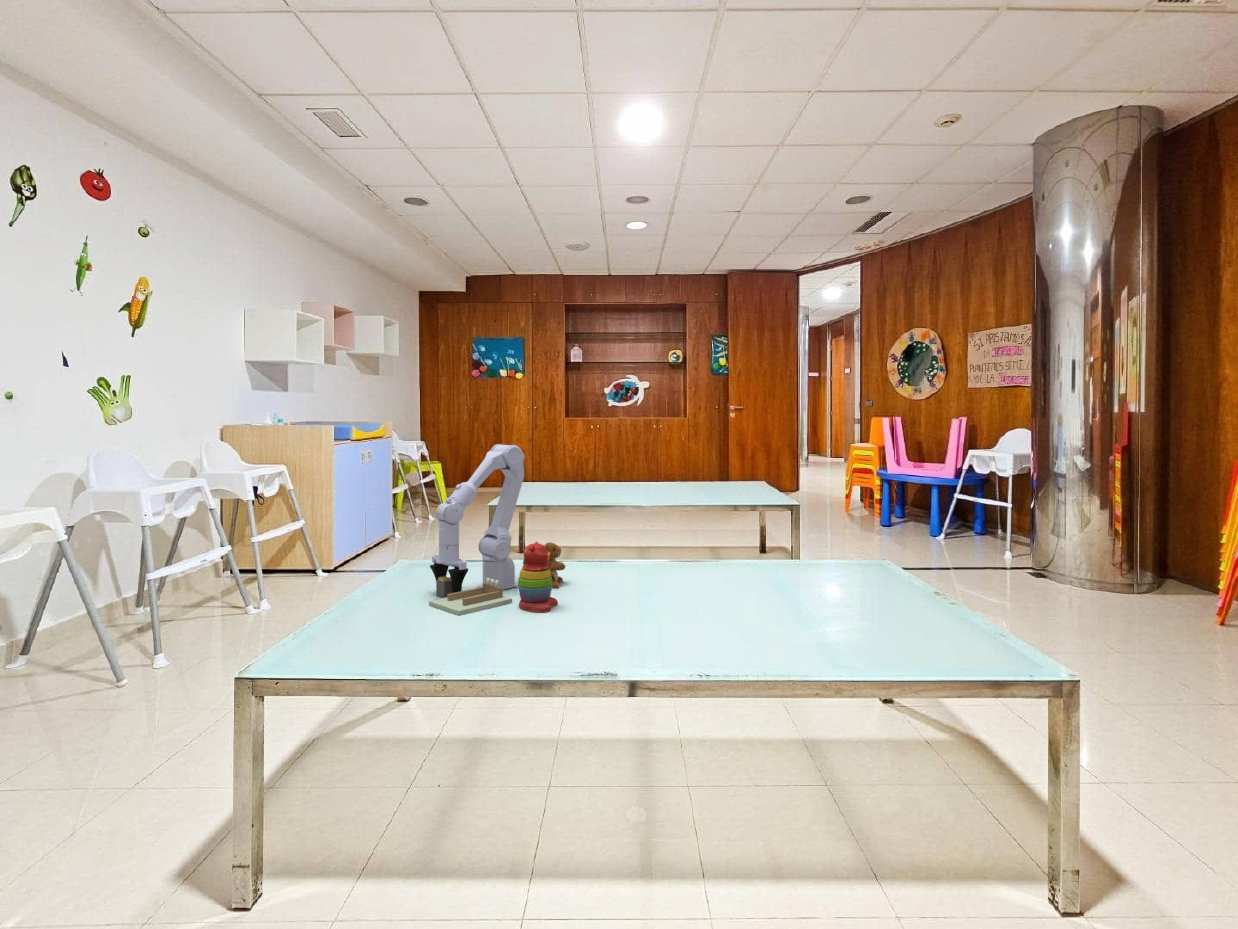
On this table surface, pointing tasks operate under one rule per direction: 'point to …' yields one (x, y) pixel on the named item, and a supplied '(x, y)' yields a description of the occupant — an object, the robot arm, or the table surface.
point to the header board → (473, 599)
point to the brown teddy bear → (554, 563)
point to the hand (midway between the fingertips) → (448, 590)
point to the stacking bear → (536, 580)
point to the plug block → (443, 587)
